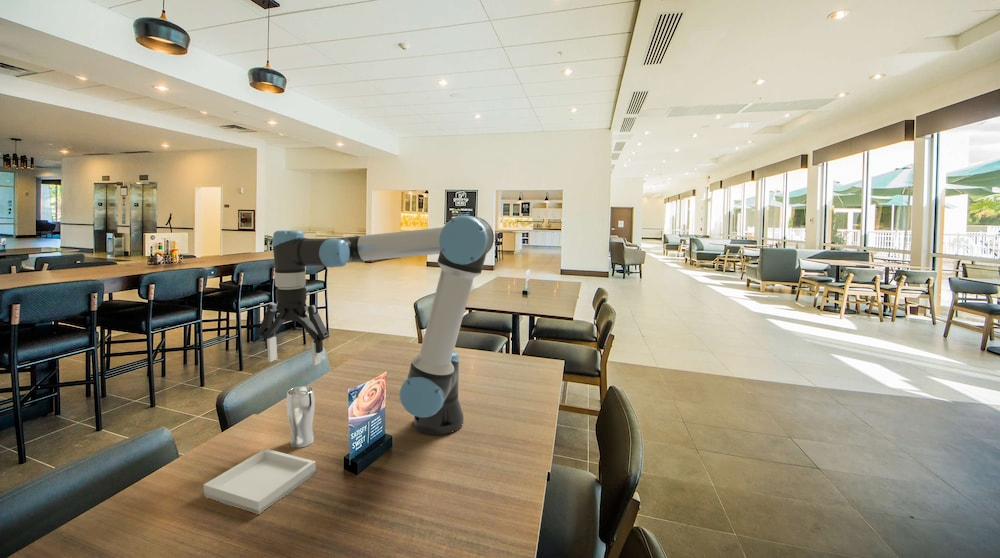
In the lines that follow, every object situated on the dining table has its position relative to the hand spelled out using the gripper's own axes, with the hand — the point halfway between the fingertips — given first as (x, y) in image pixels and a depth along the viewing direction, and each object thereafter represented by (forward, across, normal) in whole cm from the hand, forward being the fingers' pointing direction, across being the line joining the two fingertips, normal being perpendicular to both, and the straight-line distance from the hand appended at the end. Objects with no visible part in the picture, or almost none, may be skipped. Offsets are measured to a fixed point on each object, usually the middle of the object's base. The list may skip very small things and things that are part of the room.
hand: (294, 362), depth 116 cm
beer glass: (+22, -4, +3) cm, 22 cm away
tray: (+22, -6, +22) cm, 32 cm away
